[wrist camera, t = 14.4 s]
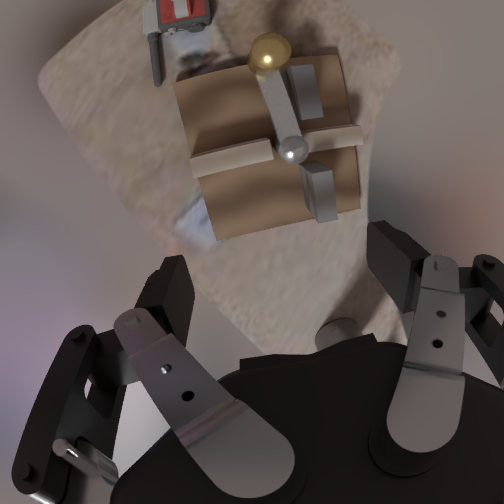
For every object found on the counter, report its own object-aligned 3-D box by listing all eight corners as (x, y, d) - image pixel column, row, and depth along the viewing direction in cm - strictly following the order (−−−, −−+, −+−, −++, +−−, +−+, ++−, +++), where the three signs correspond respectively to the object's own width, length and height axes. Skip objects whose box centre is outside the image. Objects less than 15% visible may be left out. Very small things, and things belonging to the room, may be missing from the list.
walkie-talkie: (142, -26, 21) (153, 89, 30) (134, -39, 17) (143, 86, 26) (204, -40, 21) (220, 75, 30) (202, -55, 17) (218, 70, 26)
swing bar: (309, 157, 30) (331, 170, 23) (282, 165, 30) (297, 181, 24) (271, 47, 24) (283, 29, 17) (242, 55, 24) (246, 38, 17)
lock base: (356, 205, 40) (379, 224, 33) (216, 236, 40) (214, 263, 34) (333, 56, 29) (357, 45, 22) (174, 84, 30) (161, 77, 23)
